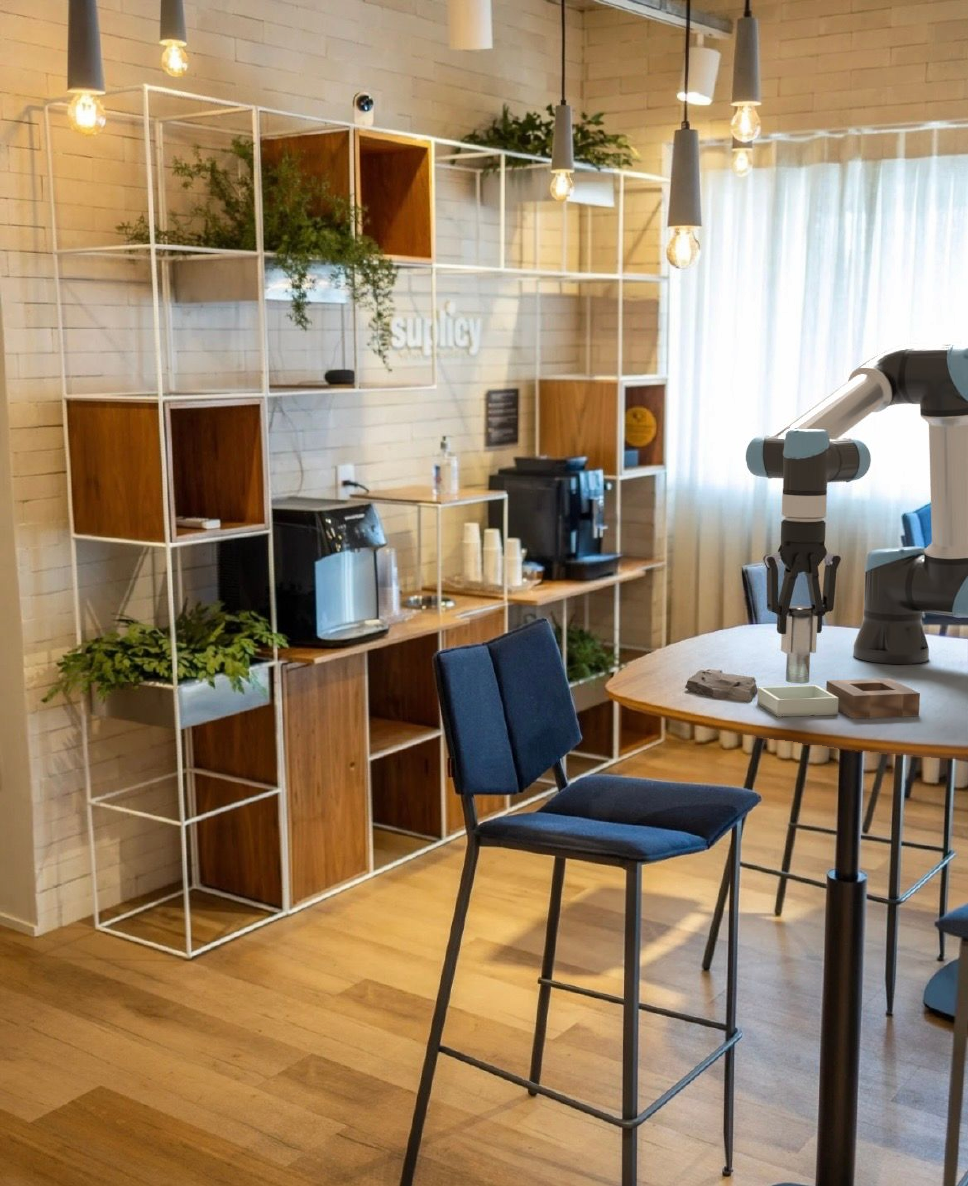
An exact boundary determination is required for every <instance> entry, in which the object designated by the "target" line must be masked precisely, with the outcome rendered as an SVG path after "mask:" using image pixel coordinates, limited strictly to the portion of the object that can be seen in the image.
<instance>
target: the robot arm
mask: <svg viewBox="0 0 968 1186" xmlns="http://www.w3.org/2000/svg"><path fill="white" fill-rule="evenodd" d="M902 404H903V405H907V404H911V405H919V408H920V418H922V420H923V419H924V420H925V421H926V423H927V424H928V437H929V439H928V440H929V441H928V444H929V448H928V449H929V479H930V482H929V483H930V488H929V489H930V517H931V518H930V520H931V543H930V544H929V545H928V546H927V547H926V548H925V547H924V546H899V547H898V546H897V547H888V548H879V549H873V550H871V551H870V552H869V553H868V554H867V556H866V562H865V567H864V592H863V593H864V597H863V619H862V623H861V625H860V628H859V630H858V633H857V636H856V639H855V641H854V644H853V653H852V654H853V655H852V656H853V657H855V658H857V659H858V660H859V659H860V660H862V661H867V662H871V663H876V664H877V663H878V664H879V663H880V664H889V665H890V664H892V665H911V664H919V663H924V662H927V661H928V660H929V658H930V647H929V644H928V639H927V637H926V634H925V630H924V627H923V622H922V621H923V620H922V618H923V613H927V614H935V615H943V616H950V617H954V618H957V619H958V618H959V619H960V618H964V619H967V618H968V343H966V342H965V343H964V342H958V341H957V342H941V343H940V342H938V343H910V344H908V343H907V344H904V345H899V346H896V347H894V348H891V349H889V350H886V351H884V352H882V353H880V354H877V355H876V356H874V357H872V358H871V359H869V360H867V361H866V362H865V363H863V364H861V365H860V366H859V367H857V368H856V369H855V370H854V371H852V372H851V373H850V375H849V377H848V381H847V382H846V383H844V384H843V385H842V386H840V387H838V389H836V390H834V391H833V392H832V393H831V394H830V395H828V396H827V397H826V398H824V399H823V400H821V401H820V402H819V403H817V404H816V405H815V406H814V407H812V408H811V409H809V410H808V411H807V412H805V413H804V414H803V415H801V416H800V417H798V418H797V419H796V420H794V421H793V422H791V424H789V425H788V426H787V427H785V428H784V429H782V430H781V431H780V432H778V433H777V434H775V435H773V436H769V435H764V436H757V437H754V438H752V439H751V441H750V442H749V444H748V445H747V448H746V452H745V462H746V468H747V469H748V470H749V472H750V473H751V474H752V475H753V476H756V477H760V478H761V477H762V478H768V479H782V493H781V494H782V496H781V497H782V498H781V516H782V517H783V518H784V519H782V521H781V523H780V545H779V548H778V549H777V552H775V553H773V554H771V555H767V554H765V555H764V556H763V559H762V560H763V563H764V565H765V569H766V609H767V610H768V611H769V612H771V613H774V614H776V618H777V619H776V631H777V633H778V634H780V635H781V636H780V637H781V639H780V651H781V652H783V653H785V654H786V655H787V654H791V631H792V617H791V616H789V615H788V611H789V607H791V602H792V598H793V594H794V589H795V584H796V580H797V579H798V576H799V574H800V573H804V575H805V577H806V582H807V586H808V587H807V588H808V594H809V600H810V601H809V602H810V607H811V608H813V615H812V621H811V647H810V654H811V653H812V654H816V653H817V639H818V638H817V637H818V634H821V633H822V631H823V630H822V629H823V617H824V616H825V615H826V613H828V612H833V610H834V609H835V608H834V607H835V594H836V584H837V583H836V582H837V570H838V568H839V565H840V563H841V560H842V558H841V557H840V555H837V554H834V553H830V552H828V551H827V548H826V546H825V545H826V544H825V541H826V526H827V523H826V522H825V520H823V519H824V518H826V517H827V502H828V501H827V498H828V483H842V482H843V483H844V482H845V483H851V482H852V481H857V480H860V479H861V478H863V477H864V476H865V475H866V474H867V473H868V471H869V469H870V468H871V463H872V462H871V461H872V459H871V458H872V457H871V452H870V450H869V448H868V446H867V445H866V443H864V442H863V441H861V440H859V439H855V438H850V437H849V438H841V439H839V438H840V437H841V436H843V435H844V434H845V433H847V432H848V431H849V430H851V429H853V428H854V427H855V426H856V425H857V424H859V423H860V422H861V421H862V420H863V419H865V418H866V417H868V416H869V415H870V414H871V413H879V412H882V411H884V410H885V409H887V408H888V407H889V406H893V405H902ZM780 560H781V561H782V563H783V564H784V567H785V568H784V571H783V581H782V584H781V588H780V589H781V590H780V594H779V569H778V567H779V565H780ZM823 560H824V561H823ZM822 561H823V562H824V564H825V565H824V572H823V583H822V585H823V586H822V591H821V585H820V581H819V580H820V579H819V576H820V573H819V566H820V564H821V563H822ZM821 592H822V593H821Z"/></svg>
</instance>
